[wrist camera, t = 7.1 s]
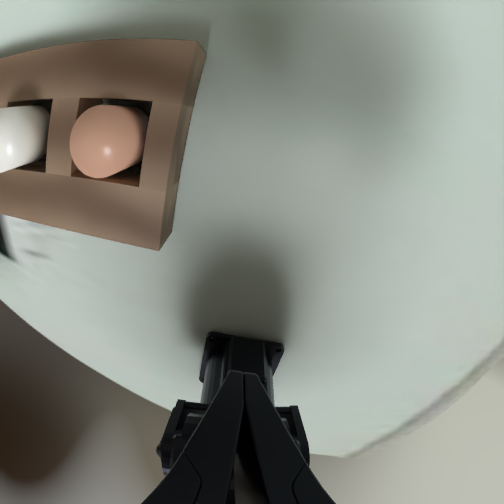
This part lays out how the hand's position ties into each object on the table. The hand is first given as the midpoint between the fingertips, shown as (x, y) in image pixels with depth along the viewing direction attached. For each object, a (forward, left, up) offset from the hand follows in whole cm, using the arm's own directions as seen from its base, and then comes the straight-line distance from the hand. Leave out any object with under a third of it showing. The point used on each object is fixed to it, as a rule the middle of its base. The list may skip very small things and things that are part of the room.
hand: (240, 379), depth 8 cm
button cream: (+5, +16, -10) cm, 20 cm away
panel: (+5, +16, -12) cm, 21 cm away
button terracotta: (+5, +9, -11) cm, 15 cm away
